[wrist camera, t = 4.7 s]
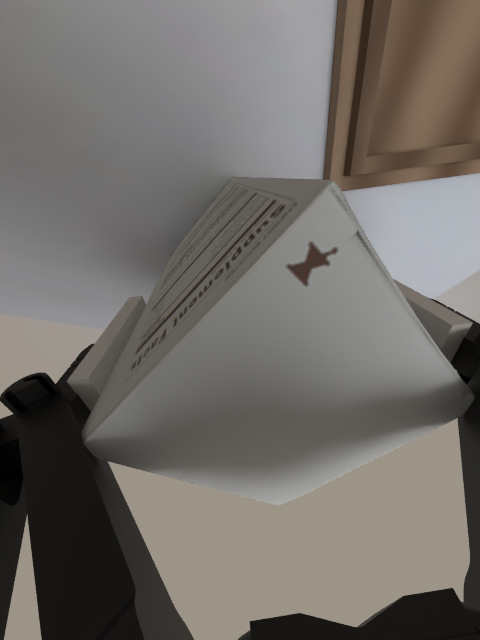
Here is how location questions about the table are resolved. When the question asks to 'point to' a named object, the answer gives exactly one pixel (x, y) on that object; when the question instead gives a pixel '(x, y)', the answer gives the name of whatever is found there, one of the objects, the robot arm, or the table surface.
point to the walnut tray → (404, 92)
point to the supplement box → (273, 352)
